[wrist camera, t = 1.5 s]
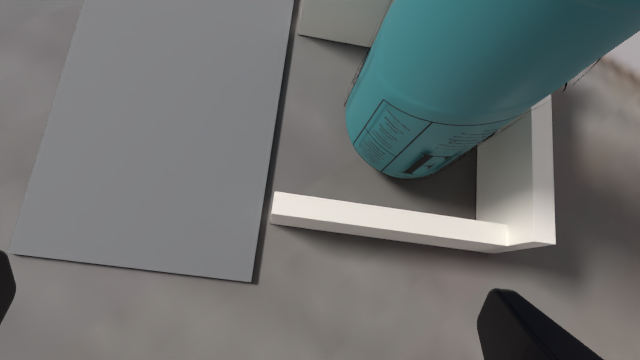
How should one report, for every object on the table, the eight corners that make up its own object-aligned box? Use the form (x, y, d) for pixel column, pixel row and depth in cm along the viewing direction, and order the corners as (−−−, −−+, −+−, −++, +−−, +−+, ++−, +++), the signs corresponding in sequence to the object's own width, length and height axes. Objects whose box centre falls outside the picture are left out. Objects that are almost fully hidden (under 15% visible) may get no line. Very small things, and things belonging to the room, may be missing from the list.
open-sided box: (493, 253, 23) (572, 241, 17) (269, 223, 22) (274, 199, 16) (494, 55, 26) (562, -11, 20) (299, 19, 25) (312, -63, 19)
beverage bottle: (372, 210, 22) (1041, -242, 3) (313, 104, 23) (560, -715, 4) (469, 158, 24) (1313, -356, 5) (410, 61, 25) (912, -685, 6)
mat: (251, 282, 21) (250, 282, 20) (10, 253, 20) (7, 253, 19) (298, -27, 25) (298, -30, 25) (106, -65, 24) (104, -69, 24)
